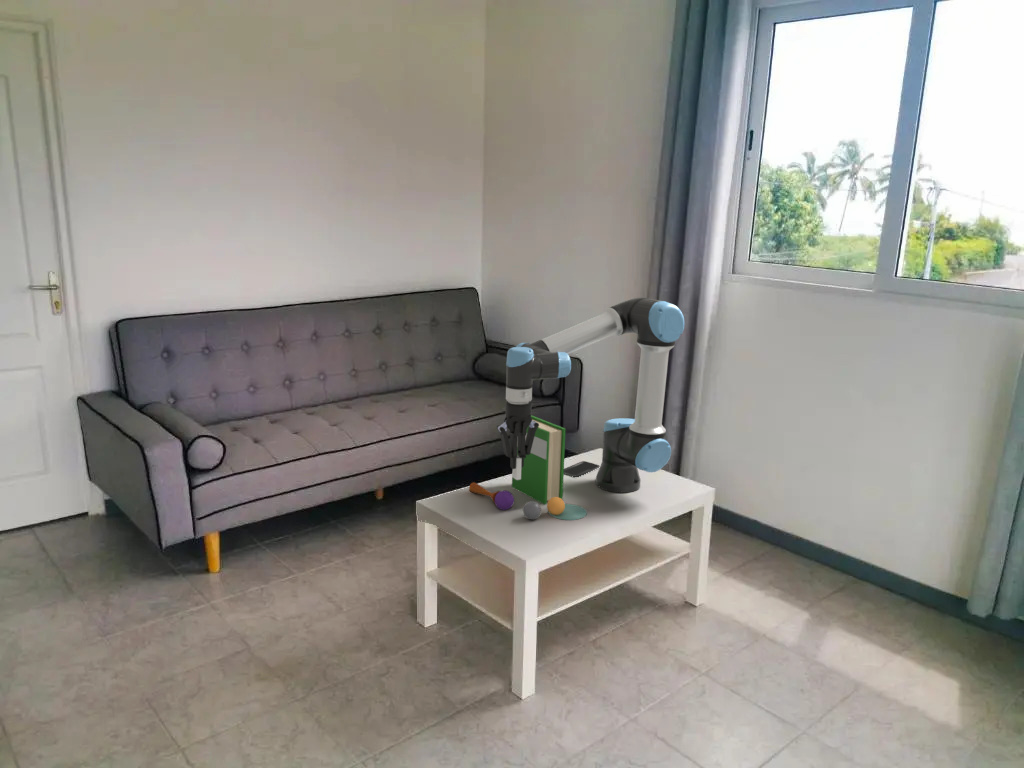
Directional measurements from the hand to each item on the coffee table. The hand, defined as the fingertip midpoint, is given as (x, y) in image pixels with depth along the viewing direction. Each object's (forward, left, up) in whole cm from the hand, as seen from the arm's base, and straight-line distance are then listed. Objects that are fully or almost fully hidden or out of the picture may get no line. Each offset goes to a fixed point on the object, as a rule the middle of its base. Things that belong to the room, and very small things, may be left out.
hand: (516, 478), depth 222 cm
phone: (-29, -43, -15) cm, 54 cm away
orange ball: (-13, -5, -11) cm, 18 cm away
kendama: (+6, -16, -14) cm, 23 cm away
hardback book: (-10, -22, -14) cm, 28 cm away
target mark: (-17, -6, -14) cm, 23 cm away
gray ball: (-5, -2, -11) cm, 13 cm away
